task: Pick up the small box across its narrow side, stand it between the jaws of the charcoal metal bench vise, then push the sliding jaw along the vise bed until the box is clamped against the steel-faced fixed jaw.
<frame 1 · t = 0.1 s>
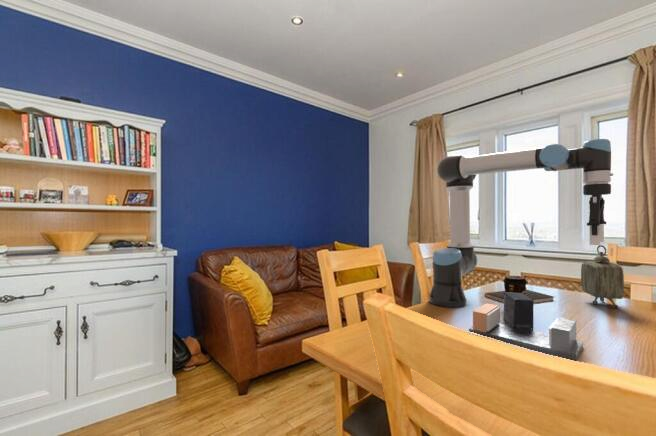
hand: (596, 243, 113), 28 cm above the table, tool pointing down, fingers open, 13 cm apart
coffee cup: (515, 309, 129), on the table
hardcover book: (518, 299, 144), on the table
small box: (518, 325, 110), on the table
sliding jaw: (486, 317, 105), point 5 cm above the table, slide at 0.0 cm
tabletop clock: (600, 304, 133), on the table
vise: (524, 340, 98), on the table
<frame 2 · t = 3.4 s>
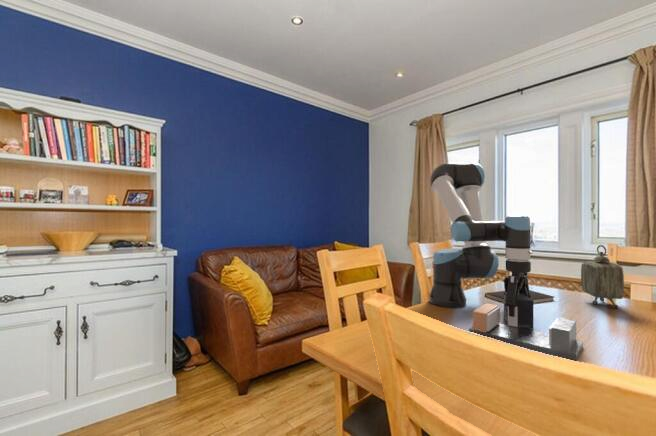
hand: (518, 320, 110), 2 cm above the table, tool pointing down, fingers open, 13 cm apart
nothing on the table moved.
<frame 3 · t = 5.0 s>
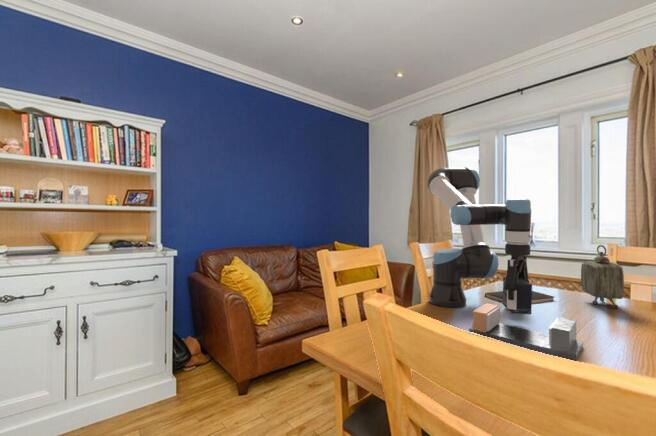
hand: (516, 304, 111), 7 cm above the table, tool pointing down, fingers closed on small box, 12 cm apart
small box: (516, 309, 111), point 5 cm above the table, touching gripper
everything else where it was.
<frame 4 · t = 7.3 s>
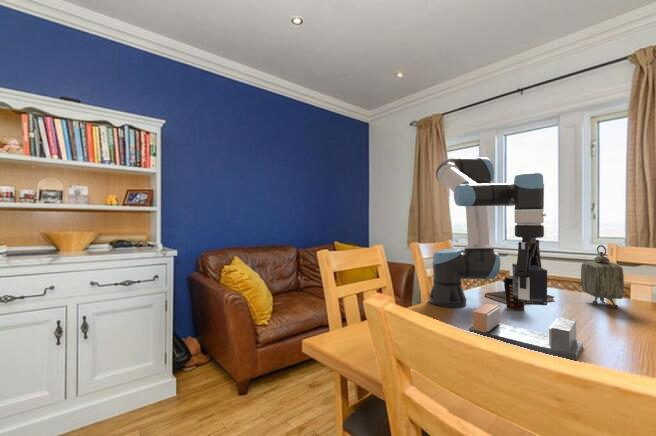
hand: (529, 295, 96), 14 cm above the table, tool pointing down, fingers closed on small box, 12 cm apart
small box: (529, 301, 96), point 12 cm above the table, touching gripper
everything else where it was.
when the fingers open (4 cm above the table, at t = 9.6 s): small box drops 1 cm, resting on vise.
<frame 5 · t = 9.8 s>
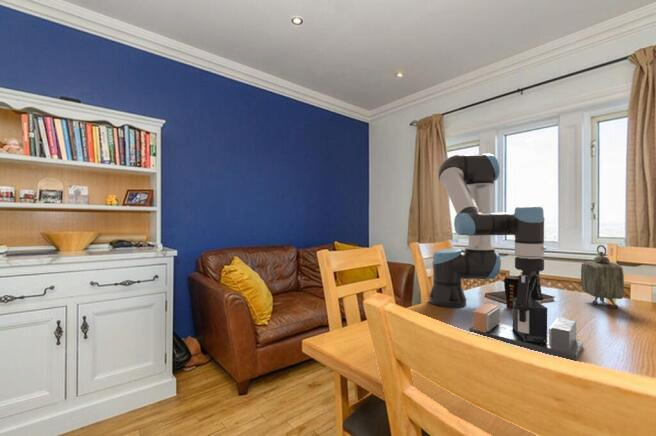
hand: (529, 326, 97), 5 cm above the table, tool pointing down, fingers open, 13 cm apart
small box: (529, 336, 97), point 1 cm above the table, touching vise
everything else where it was.
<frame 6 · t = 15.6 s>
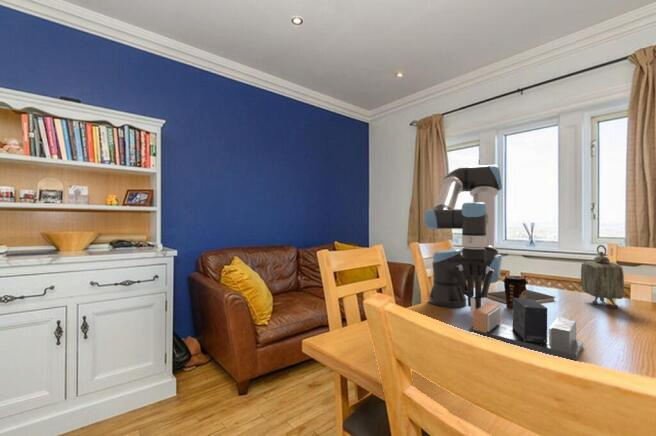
hand: (474, 316, 108), 4 cm above the table, tool pointing down, fingers closed
sliding jaw: (487, 317, 105), point 5 cm above the table, slide at 0.2 cm, touching gripper
everything else where it was.
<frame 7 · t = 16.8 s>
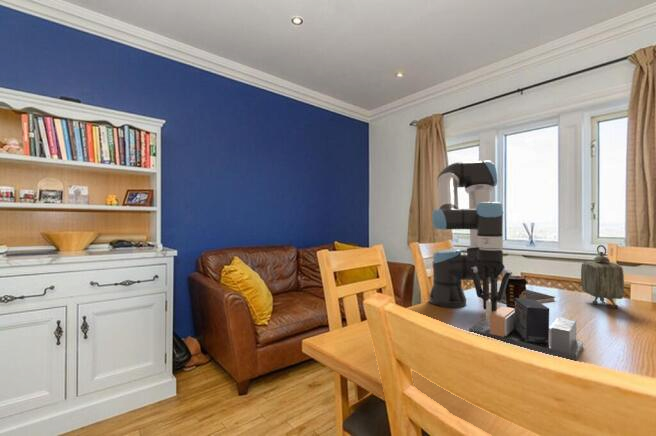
hand: (490, 319, 104), 4 cm above the table, tool pointing down, fingers closed
small box: (531, 337, 96), point 1 cm above the table, touching sliding jaw, vise
sliding jaw: (503, 320, 102), point 5 cm above the table, slide at 5.1 cm, touching gripper, small box
everything else where it was.
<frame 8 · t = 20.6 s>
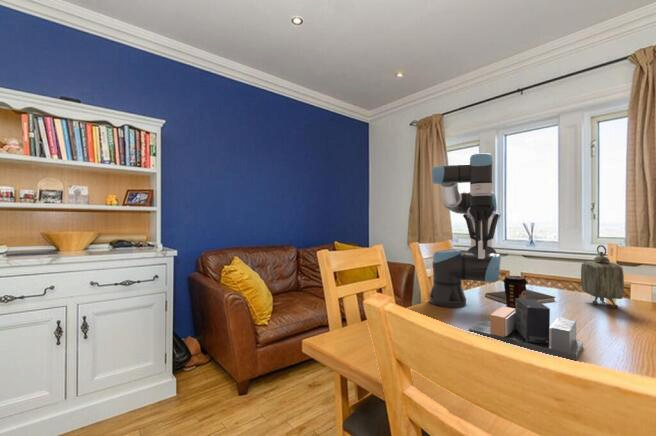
hand: (481, 258, 118), 22 cm above the table, tool pointing down, fingers closed
small box: (531, 337, 96), point 1 cm above the table, touching vise
sliding jaw: (504, 321, 102), point 5 cm above the table, slide at 5.3 cm
everything else where it was.
at the end: sliding jaw slide at 5.3 cm; small box 0.5 cm from the target spot on the vise, point 1.3 cm above the vise's base; small box tilted 0° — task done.
